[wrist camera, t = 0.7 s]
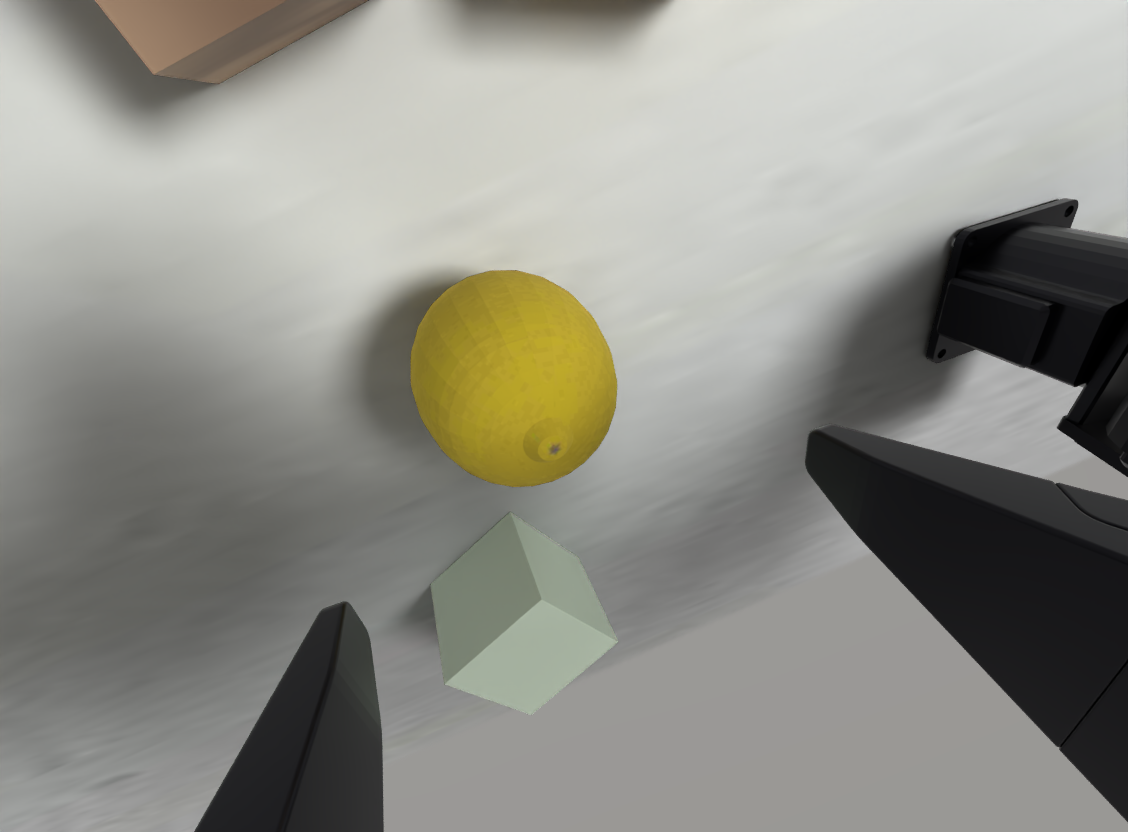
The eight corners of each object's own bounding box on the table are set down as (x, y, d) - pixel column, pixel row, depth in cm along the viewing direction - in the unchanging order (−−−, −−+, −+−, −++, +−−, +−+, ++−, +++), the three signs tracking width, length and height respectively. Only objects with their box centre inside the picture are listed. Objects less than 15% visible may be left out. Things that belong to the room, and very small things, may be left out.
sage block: (509, 510, 23) (541, 599, 19) (577, 556, 25) (618, 641, 21) (430, 583, 23) (444, 684, 19) (505, 619, 26) (531, 715, 22)
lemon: (501, 419, 20) (567, 570, 14) (369, 347, 17) (371, 496, 11) (590, 304, 19) (710, 409, 12) (464, 205, 16) (534, 275, 9)
